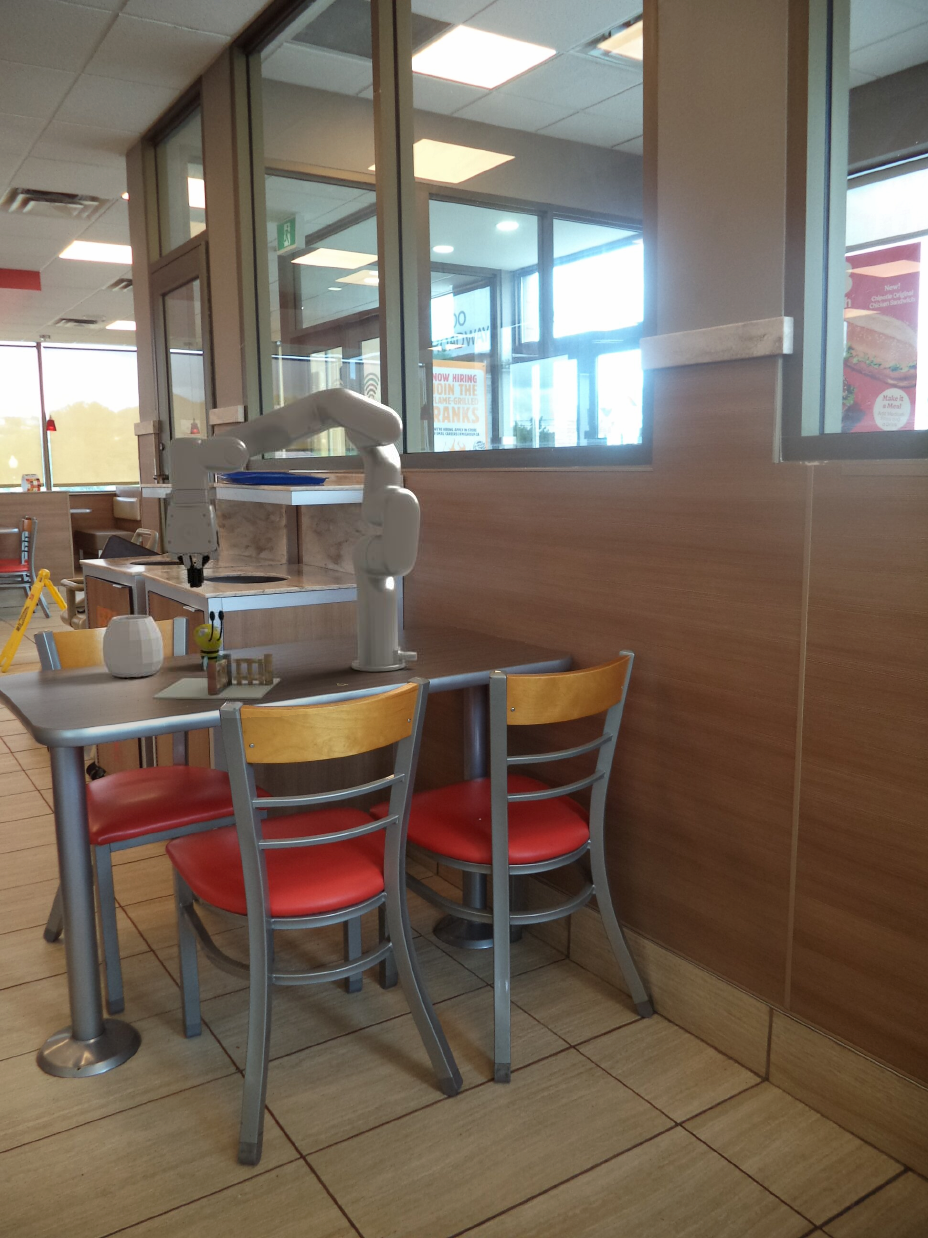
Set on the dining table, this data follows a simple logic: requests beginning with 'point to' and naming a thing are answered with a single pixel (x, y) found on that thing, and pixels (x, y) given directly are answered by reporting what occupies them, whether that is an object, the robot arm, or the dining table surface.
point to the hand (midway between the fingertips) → (196, 586)
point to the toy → (210, 640)
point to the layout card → (199, 690)
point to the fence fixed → (250, 670)
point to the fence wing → (216, 676)
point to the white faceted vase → (132, 646)
